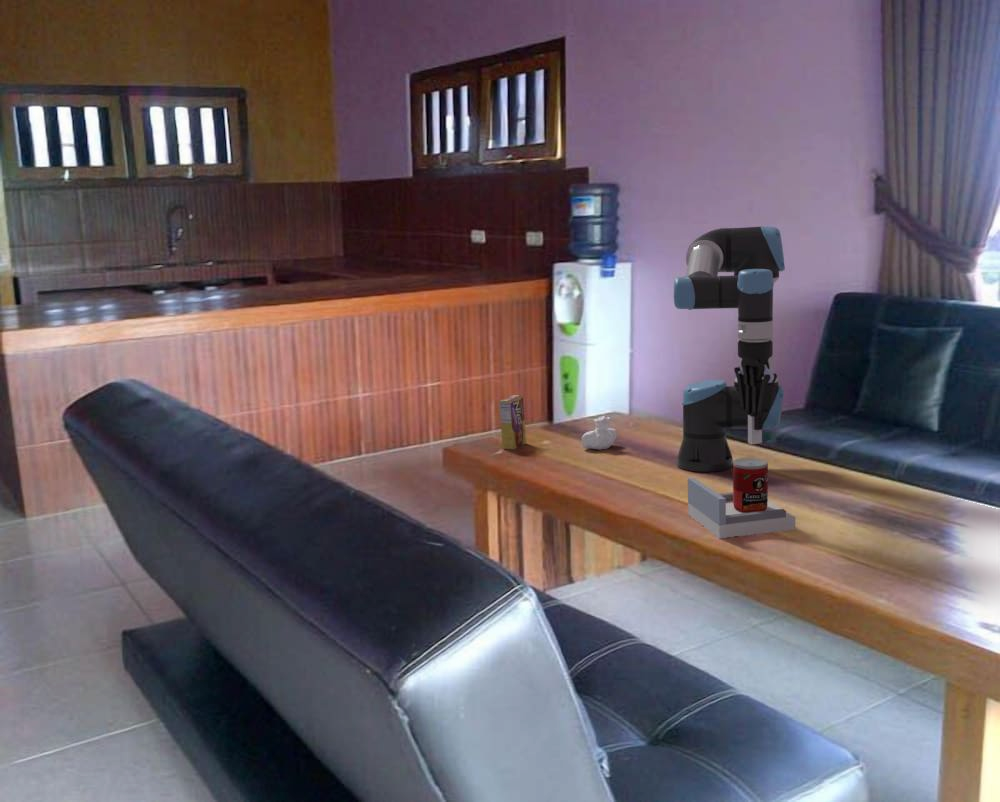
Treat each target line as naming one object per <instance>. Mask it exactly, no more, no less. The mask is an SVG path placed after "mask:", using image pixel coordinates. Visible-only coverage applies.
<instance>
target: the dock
mask: <svg viewBox="0 0 1000 802" xmlns="http://www.w3.org/2000/svg"><path fill="white" fill-rule="evenodd" d="M689 515H690V516H691V517H690V516H689ZM687 516H689V517H690V518H691V519H693V518H694V519H695V520H696V522H697V523H698V522H699V523H700V524H699V523H698V524H699V525H701V526H702V525H703V526H704V527H703V526H702V527H703V528H705V529H706V528H707V529H708V530H707V529H706V530H707V531H708V532H710V533H711V534H712V535H713V536H715V537H716V538H718V539H719V540H722V539H728V538H727V537H730V538H735V537H734V536H739V537H744V536H745V537H746V535H747V536H754V534H756V535H763V534H764V533H765V534H771V533H772V532H773V533H779V532H778V531H782V532H788V531H787V530H790V531H795V530H796V516H794V515H793V514H792V513H790V512H788V511H787V510H785V509H784V508H781V507H780V506H778V505H776V504H775V503H773V502H772V501H770V500H768V503H767V509H766V510H765V511H759V512H751V513H744V512H740V511H737V510H736V509H735V508H734V505H733V491H732V492H725V493H724V492H722V493H719V492H716V491H715V490H713V489H712V488H711V487H709V486H707V485H706V484H705V483H703V482H701V481H700V480H699V479H697V478H696V477H687ZM694 519H693V520H694ZM695 520H694V521H695ZM765 534H764V535H765Z"/></svg>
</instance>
